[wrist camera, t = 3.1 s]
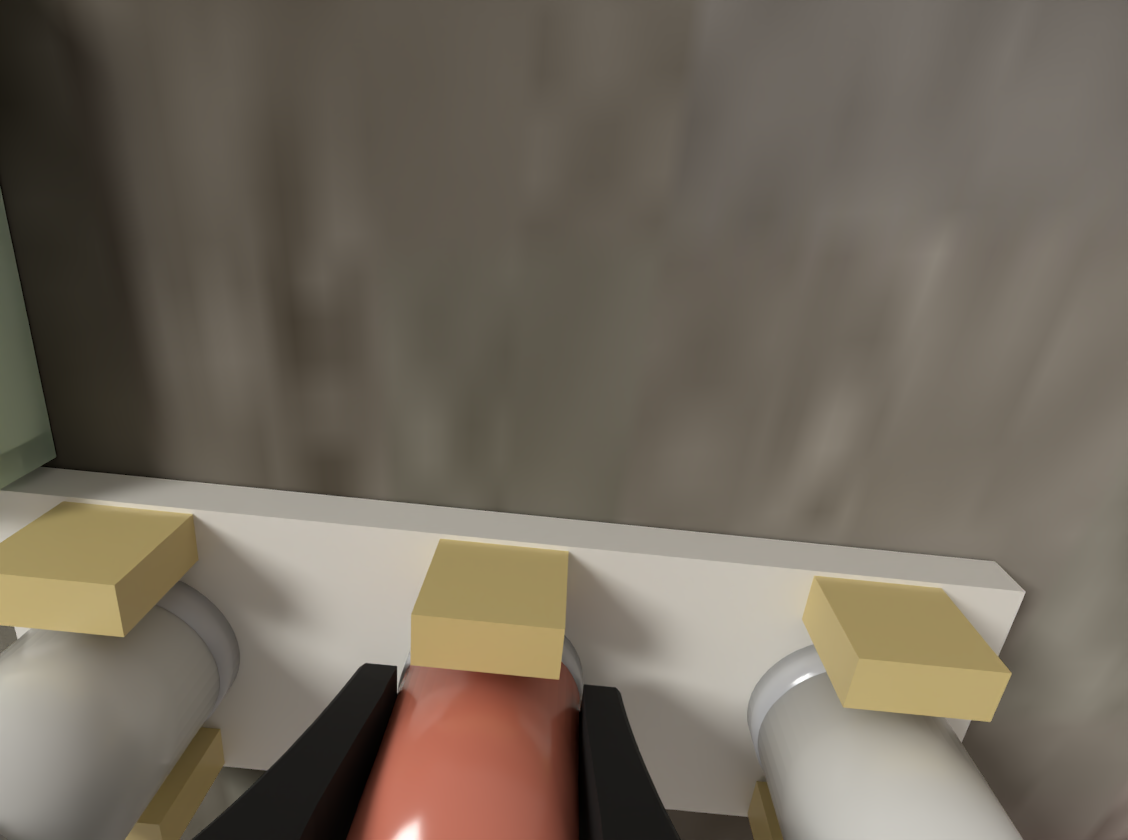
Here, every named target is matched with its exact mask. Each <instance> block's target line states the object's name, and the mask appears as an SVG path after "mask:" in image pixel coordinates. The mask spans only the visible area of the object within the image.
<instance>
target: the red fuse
mask: <svg viewBox="0 0 1128 840" xmlns="http://www.w3.org/2000/svg"><path fill="white" fill-rule="evenodd" d="M410 660H411V649H410V652H409V654H408V657H407V660H406V663H405V666H404V668H403V671H402V674H401V677H400V681H399V685H398V693H397V696H396V699H395V702H394V705H393V707H392V710H391V713H390V716H389V719H388V722H387V725H386V727H385V730H384V733H383V736H382V739H381V742H380V744H379V747H378V750H377V753H376V756H375V759H374V762H373V764H372V767H371V770H370V773H369V776H368V779H367V781H366V784H365V787H364V790H363V793H362V796H361V799H360V801H359V804H358V807H357V810H356V813H355V816H354V818H353V821H352V824H351V827H350V830H349V833H348V836H347V838H346V840H579V800H580V760H579V750H580V708H581V701H582V694H583V670H582V665H581V661H580V658H579V656H578V654H577V652H576V649H575V648H574V646H573V645H572V643H571V642H570V640H569V639H568V638H567V637H566V636H565V635H564V643H563V652H562V660H561V669H560V677H559V680H556V679H546V678H536V677H526V676H516V675H505V674H495V673H485V672H475V671H464V670H454V669H444V668H434V667H423V666H413V665H410Z"/></svg>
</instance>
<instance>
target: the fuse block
mask: <svg viewBox="0 0 1128 840" xmlns="http://www.w3.org/2000/svg"><path fill="white" fill-rule="evenodd" d="M178 581H182V582H184V583H186V584H187V585H189V586H191V587H192V588H194V589H196V590H197V591H199V592H200V593H201V594H203V595H204V596H205V597H207V598H208V599H209V600H210V601H211V602H212V603H213V604H214V605H215V606H216V607H217V608H218V609H219V610H220V611H221V612H222V614H223V615H224V616H225V618H226V619H227V621H228V622H229V624H230V625H231V627H232V629H233V631H234V633H235V636H236V639H237V642H238V646H239V651H240V664H239V670H238V673H237V676H236V679H235V681H234V682H233V684H232V686H231V687H230V689H229V690H228V692H227V693H226V695H225V696H224V698H223V699H222V701H221V702H220V704H219V705H218V707H217V708H216V710H215V711H214V713H213V714H212V715H211V716H210V718H209V719H208V720H206V721H205V722H204V723H203V725H202V726H201V728H200V729H199V730H198V732H197V733H196V735H195V736H194V738H193V739H192V741H191V742H190V744H189V745H188V747H187V748H186V750H185V751H184V753H183V754H182V756H181V757H180V759H179V760H178V762H177V763H176V765H175V766H174V768H173V769H172V770H171V772H170V773H169V775H168V776H167V778H166V779H165V781H164V782H163V784H162V785H161V787H160V788H159V790H158V791H157V793H156V794H155V796H154V797H153V799H152V800H151V802H150V803H149V805H148V806H147V808H146V809H145V810H144V812H143V813H142V815H141V816H140V818H139V819H138V821H137V822H136V824H135V825H134V827H133V828H132V830H131V831H130V833H129V834H128V836H127V837H126V839H125V840H179V839H180V838H181V836H182V834H183V832H184V831H185V829H186V827H187V826H188V824H189V822H190V821H191V819H192V817H193V816H194V814H195V812H196V811H197V809H198V807H199V806H200V804H201V802H202V801H203V799H204V797H205V796H206V794H207V792H208V790H209V789H210V787H211V785H212V784H213V782H214V780H215V779H216V777H217V775H218V774H219V772H220V770H221V769H222V767H223V766H226V767H237V768H247V769H257V770H268V769H269V768H270V767H271V766H272V765H273V764H274V763H275V762H276V761H277V760H278V759H279V758H280V757H281V756H282V755H283V754H284V753H285V752H286V751H287V750H288V749H289V748H290V747H291V746H292V745H293V743H294V742H295V741H296V740H297V739H298V738H299V737H300V736H301V735H302V734H303V733H304V732H305V730H306V729H307V728H308V727H309V726H310V725H311V724H312V723H313V722H314V721H315V720H316V718H317V717H318V716H319V715H320V714H321V713H322V712H323V710H324V709H325V708H326V707H327V706H328V705H329V704H330V702H331V701H332V700H333V699H334V698H335V696H336V695H337V694H338V693H339V692H340V690H341V689H342V688H343V687H344V686H345V684H346V683H347V682H348V681H349V679H350V678H351V677H352V676H353V674H354V673H355V672H356V671H357V669H358V668H359V667H360V666H362V665H363V664H364V663H372V664H382V665H392V666H397V693H398V685H399V681H400V677H401V674H402V671H403V668H404V666H405V663H406V660H407V657H408V654H409V652H410V649H411V660H410V665H413V666H423V667H434V668H444V669H454V670H464V671H475V672H485V673H495V674H505V675H516V676H526V677H536V678H546V679H556V680H559V677H560V669H561V660H562V652H563V643H564V635H565V636H566V637H567V638H568V639H569V640H570V642H571V643H572V645H573V646H574V648H575V649H576V652H577V654H578V656H579V658H580V661H581V665H582V670H583V686H584V684H586V685H597V686H607V687H616V688H617V689H618V690H619V691H620V693H621V696H622V700H623V704H624V707H625V711H626V714H627V717H628V720H629V723H630V726H631V729H632V732H633V735H634V737H635V740H636V743H637V745H638V748H639V751H640V753H641V756H642V758H643V760H644V763H645V765H646V768H647V770H648V772H649V774H650V777H651V779H652V781H653V783H654V786H655V788H656V790H657V793H658V795H659V797H660V799H661V801H662V803H663V805H664V808H665V809H671V810H682V811H692V812H703V813H713V814H723V815H734V816H744V817H748V818H749V822H750V826H751V830H752V834H753V838H754V840H783V837H782V833H781V830H780V826H779V823H778V819H777V816H776V812H775V809H774V805H773V802H772V799H771V795H770V792H769V788H768V785H767V781H766V778H765V774H764V771H763V769H762V768H761V766H760V764H759V761H758V759H757V756H756V752H755V749H754V745H753V742H752V738H751V735H750V731H749V727H748V722H747V709H748V703H749V700H750V697H751V694H752V692H753V690H754V688H755V686H756V684H757V683H758V681H759V680H760V679H761V677H762V676H763V675H764V674H765V673H766V672H767V671H768V670H769V669H770V668H771V667H772V666H773V665H774V664H776V663H777V662H778V661H780V660H781V659H783V658H784V657H786V656H787V655H789V654H791V653H793V652H795V651H797V650H799V649H802V648H804V647H807V646H809V645H813V644H814V646H815V648H816V651H817V653H818V655H819V657H820V659H821V661H822V663H823V666H824V668H825V670H826V672H827V674H828V676H829V678H830V681H831V683H832V685H833V687H834V689H835V691H836V693H837V696H838V698H839V700H840V702H841V704H842V706H843V708H853V709H863V710H874V711H884V712H894V713H904V714H915V715H925V716H935V717H945V718H946V719H947V721H948V722H949V724H950V726H951V727H952V729H953V730H954V732H955V733H956V735H957V737H958V738H959V740H960V741H961V743H962V741H963V738H964V736H965V734H966V731H967V729H968V727H969V724H970V722H971V720H976V721H986V722H991V720H992V717H993V715H994V713H995V711H996V708H997V706H998V704H999V702H1000V699H1001V697H1002V695H1003V693H1004V690H1005V688H1006V686H1007V683H1008V681H1009V679H1010V677H1011V674H1012V673H1011V672H1010V671H1009V669H1008V668H1007V667H1006V666H1005V664H1004V663H1003V662H1002V661H1001V660H1000V658H999V657H998V656H999V654H1000V651H1001V649H1002V647H1003V644H1004V642H1005V640H1006V637H1007V635H1008V633H1009V630H1010V628H1011V626H1012V623H1013V621H1014V619H1015V616H1016V614H1017V611H1018V609H1019V607H1020V604H1021V602H1022V600H1023V597H1024V595H1025V593H1026V592H1025V591H1024V590H1023V589H1022V588H1021V587H1020V586H1019V585H1018V584H1017V583H1016V582H1015V581H1014V580H1013V579H1012V578H1011V577H1010V576H1009V575H1008V574H1007V573H1006V572H1005V571H1004V570H1003V569H1002V568H1001V567H1000V566H999V565H998V564H997V563H996V562H995V561H986V560H976V559H966V558H956V557H946V556H935V555H925V554H915V553H905V552H895V551H885V550H875V549H865V548H855V547H845V546H835V545H825V544H815V543H805V542H794V541H784V540H774V539H764V538H754V537H744V536H734V535H724V534H714V533H704V532H694V531H684V530H674V529H664V528H653V527H643V526H633V525H623V524H613V523H603V522H593V521H583V520H573V519H563V518H553V517H543V516H533V515H523V514H512V513H502V512H492V511H482V510H472V509H462V508H452V507H442V506H432V505H422V504H412V503H402V502H392V501H382V500H371V499H361V498H351V497H341V496H331V495H321V494H311V493H301V492H291V491H281V490H271V489H261V488H251V487H241V486H230V485H220V484H210V483H200V482H190V481H180V480H170V479H160V478H150V477H140V476H130V475H120V474H110V473H100V472H89V471H79V470H69V469H59V468H49V467H38V468H36V469H35V470H33V471H31V472H29V473H28V474H26V475H24V476H22V477H21V478H19V479H17V480H15V481H14V482H12V483H10V484H8V485H7V486H5V487H3V488H1V489H0V625H4V626H14V627H15V631H16V634H17V638H18V639H19V638H20V637H21V636H22V635H23V634H25V633H26V632H27V631H28V630H29V629H30V628H35V629H45V630H55V631H65V632H76V633H86V634H96V635H106V636H116V637H125V636H126V635H127V634H128V633H129V632H130V631H131V630H132V629H133V628H134V626H135V625H136V624H137V623H138V622H139V621H140V620H141V619H142V618H143V617H144V616H145V615H146V614H147V613H148V612H149V611H150V610H151V609H152V608H153V607H154V606H155V605H156V604H157V603H158V601H159V600H160V599H161V598H162V597H163V596H164V595H165V594H166V593H167V592H168V591H169V590H170V589H171V588H172V587H173V586H174V585H175V584H176V583H177V582H178Z"/></svg>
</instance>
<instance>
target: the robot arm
mask: <svg viewBox="0 0 1128 840" xmlns="http://www.w3.org/2000/svg"><path fill="white" fill-rule="evenodd" d="M396 696H397V666H392V665H382V664H372V663H364V664H363V665H362V666H360V667H359V668H358V669H357V671H356V672H355V673H354V674H353V676H352V677H351V678H350V679H349V681H348V682H347V683H346V684H345V686H344V687H343V688H342V689H341V690H340V692H339V693H338V694H337V695H336V696H335V698H334V699H333V700H332V701H331V702H330V704H329V705H328V706H327V707H326V708H325V709H324V710H323V712H322V713H321V714H320V715H319V716H318V717H317V718H316V720H315V721H314V722H313V723H312V724H311V725H310V726H309V727H308V728H307V729H306V730H305V732H304V733H303V734H302V735H301V736H300V737H299V738H298V739H297V740H296V741H295V742H294V743H293V745H292V746H291V747H290V748H289V749H288V750H287V751H286V752H285V753H284V754H283V755H282V756H281V757H280V758H279V759H278V760H277V761H276V762H275V763H274V764H273V765H272V766H271V767H270V768H269V769H268V770H267V771H266V772H265V773H264V774H263V775H262V776H261V777H260V778H259V779H258V780H257V781H256V782H255V783H254V784H253V785H252V786H251V787H250V788H249V789H248V790H247V791H246V792H245V793H244V794H243V795H242V796H240V797H239V798H238V799H237V800H236V801H235V802H234V803H233V804H232V805H231V806H230V807H228V808H227V809H226V810H225V811H224V812H223V813H222V814H221V815H220V816H218V817H217V818H216V819H215V820H214V821H213V822H212V823H210V824H209V825H208V826H207V827H206V828H205V829H203V830H202V831H201V832H200V833H199V834H198V835H196V836H195V837H194V838H193V839H192V840H346V838H347V836H348V833H349V830H350V827H351V824H352V821H353V818H354V816H355V813H356V810H357V807H358V804H359V801H360V799H361V796H362V793H363V790H364V787H365V784H366V781H367V779H368V776H369V773H370V770H371V767H372V764H373V762H374V759H375V756H376V753H377V750H378V747H379V744H380V742H381V739H382V736H383V733H384V730H385V727H386V725H387V722H388V719H389V716H390V713H391V710H392V707H393V705H394V702H395V699H396ZM579 760H580V800H579V840H681V839H680V837H679V835H678V833H677V831H676V830H675V828H674V826H673V824H672V822H671V820H670V818H669V816H668V814H667V812H666V810H665V808H664V805H663V803H662V801H661V799H660V797H659V795H658V793H657V790H656V788H655V786H654V783H653V781H652V779H651V777H650V774H649V772H648V770H647V768H646V765H645V763H644V760H643V758H642V756H641V753H640V751H639V748H638V745H637V743H636V740H635V737H634V735H633V732H632V729H631V726H630V723H629V720H628V717H627V714H626V711H625V707H624V704H623V700H622V696H621V693H620V691H619V690H618V689H617V688H616V687H607V686H597V685H586V684H584V686H583V694H582V701H581V708H580V750H579Z"/></svg>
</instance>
